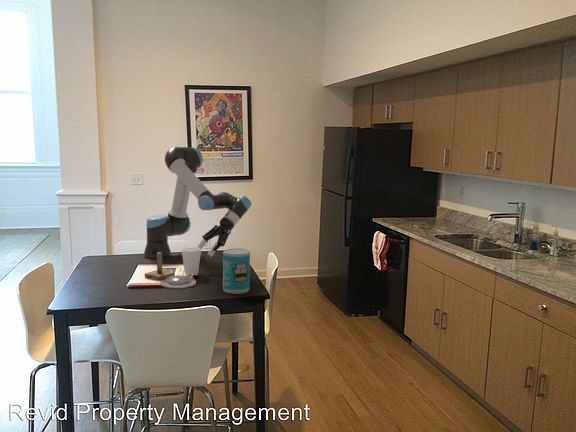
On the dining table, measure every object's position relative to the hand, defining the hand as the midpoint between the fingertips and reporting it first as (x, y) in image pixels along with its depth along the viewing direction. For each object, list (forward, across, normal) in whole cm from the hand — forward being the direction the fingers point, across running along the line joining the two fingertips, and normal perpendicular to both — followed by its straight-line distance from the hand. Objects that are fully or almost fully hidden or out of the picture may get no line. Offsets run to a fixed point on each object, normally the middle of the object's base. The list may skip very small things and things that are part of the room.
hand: (203, 252), depth 241 cm
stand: (+22, +4, +8) cm, 24 cm away
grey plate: (+20, -11, +5) cm, 24 cm away
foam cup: (+12, +1, -4) cm, 12 cm away
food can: (+8, -33, -8) cm, 35 cm away
